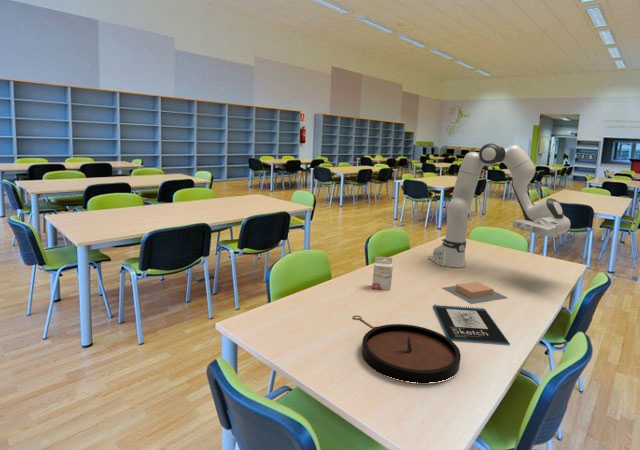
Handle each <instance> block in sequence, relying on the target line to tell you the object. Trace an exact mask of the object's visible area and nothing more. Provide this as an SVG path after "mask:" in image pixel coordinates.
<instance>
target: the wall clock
mask: <svg viewBox="0 0 640 450" xmlns="http://www.w3.org/2000/svg"><path fill="white" fill-rule="evenodd" d="M375 327H376V328H373V329H372V328H371V329H370V330H369V331H367V332H366V333H365V335H364V336H363V338H362V343H361V355H362V358H363V360H364V361H365V363H366V364H367V365H368V366H369V367H370V368H371V369H373V370H374V371H375V370H376V371H375V372H377V373H378V372H379V374H380V373H381V374H380V375H382V374H383V375H382V376H384V375H386V376H389V377H392V378H395V379H399V380H403V381H409V382H416V383H417V382H418V383H429V382H438V381H442V380H446V379H448V378H450V377H452V376H454V375H455V374H456V373H457V374H458V372H459V371H460V370H459V369H460V364H461V357H462V355H461V351H460V349H459V347H458V346H457V344H456V343H455V342H454V341H451V340H450V339H449V338H447V337H446V335H445V334H444V335H443V334H441V333H440V332H437V331H435V330H432V329H430V328H426V327H423V326H418V325H413V324H405V323H404V324H403V323H397V324H396V323H393V324H384V325H379V326H378V327H377V326H375ZM457 371H458V372H457ZM457 374H456V375H457ZM456 375H455V376H456ZM386 376H385V377H386ZM455 376H454V377H455ZM389 377H388V378H389ZM452 378H453V377H452Z"/></svg>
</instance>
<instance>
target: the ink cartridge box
mask: <svg viewBox="0 0 640 450" xmlns="http://www.w3.org/2000/svg"><path fill="white" fill-rule="evenodd" d="M393 269H394V268H393V257H390V256H389V257H388V256H377V255H376V256H375V257H374V262H373V273H372V275H373V276H372V285H371V286H372V289H373V288H374V289H373V290H382V289H384V290H383V291H391V288H392V281H393V280H392V279H393Z"/></svg>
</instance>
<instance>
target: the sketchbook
mask: <svg viewBox="0 0 640 450" xmlns="http://www.w3.org/2000/svg"><path fill="white" fill-rule="evenodd" d="M432 309H433V311H434V313H435V316H436V317H437V319H438V322H439V324H440V327H441V329H442V331H443V334H444V336H445V337H447V338H449V339H450V340H451V341H452V342H460V341H461V342H462V343H463V342H464V343H474V344H475V343H476V344H487V345H488V344H491V345H499V344H500V345H502V346H510V345H511V343H510V342H509V340H508V339H507V338H506V336H505V334H504V333H503V332H502V331H501V329H500V328H499V326H498V325H497V324H496V322H495V321H494V320H493V318H492V317H491V314H489V313H488V311H487V310H486V308H484V307H476V306H470V307H469V306H468V305H467V306H459V305H458V306H457V305H441V304H433V305H432Z"/></svg>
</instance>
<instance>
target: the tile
mask: <svg viewBox="0 0 640 450" xmlns="http://www.w3.org/2000/svg"><path fill="white" fill-rule="evenodd" d="M455 286H456V291H457V292H459V293H461V294H463V295H465V296H467V297H469V298H478V297H484V296H490V295H493V291H494V288H492V287H490V286H488V285H485V284H483V283H481V282H479V281H473V282H465V283H457V284H455Z"/></svg>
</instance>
